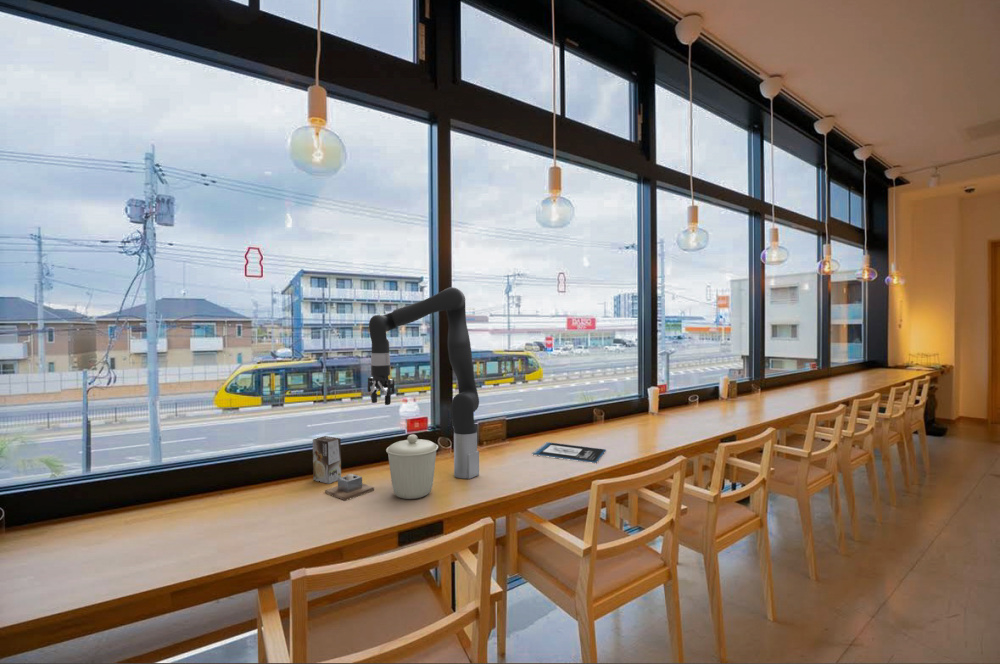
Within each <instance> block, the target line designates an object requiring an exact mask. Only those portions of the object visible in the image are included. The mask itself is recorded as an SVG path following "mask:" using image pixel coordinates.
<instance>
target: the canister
mask: <svg viewBox="0 0 1000 664" xmlns="http://www.w3.org/2000/svg"><path fill="white" fill-rule="evenodd" d="M438 449H439V445H438V444H437V443H435V442H433V441H431V440H429V439H419V438H418V436H417V435H416V434H408V436H407V439H404V440H399V441H396V442H394V443H391V444H390V445H389V446H388V447H386V449H385V451H386V453H387V454H388V464H389V472H390V479H391V480H390V481H391V487H392V491H393V493H394V495H395V496H396V497H397V498H399V499H403V500H404V499H406V500H414V499H420V498H423V497H425V496H428V495H429V493H431V490H432V489H433V484H434V477H435V469H436V468H435V467H436V460H437V459H436V457H437V451H438Z"/></svg>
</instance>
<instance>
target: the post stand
mask: <svg viewBox="0 0 1000 664" xmlns="http://www.w3.org/2000/svg"><path fill="white" fill-rule="evenodd" d="M353 474H354V473H347V474H345V476H346V480H351V479H353ZM373 491H375V487H374V486H371V485H368V484H365V483H363V482H362V488H361V489H358V490H355V491H352V492H350V493H346V492H343V491H341V490H338V485H337V486H334V487H330V488H327V489H325V490H324V492H325V494H327V493H328V494H327V495H329V494H330V496H332V495H333V496H332V497H334V496H335V498H338V499H339V498H340V500H342V499H343V501H344V500H345V501H348V500H350V498H351V499H353V497H354V498H356V496H357V497H359V496H362V495H364V493H365V494H367V492H368V493H369V492H373ZM361 494H362V495H361ZM358 495H359V496H358ZM347 499H348V500H347Z"/></svg>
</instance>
